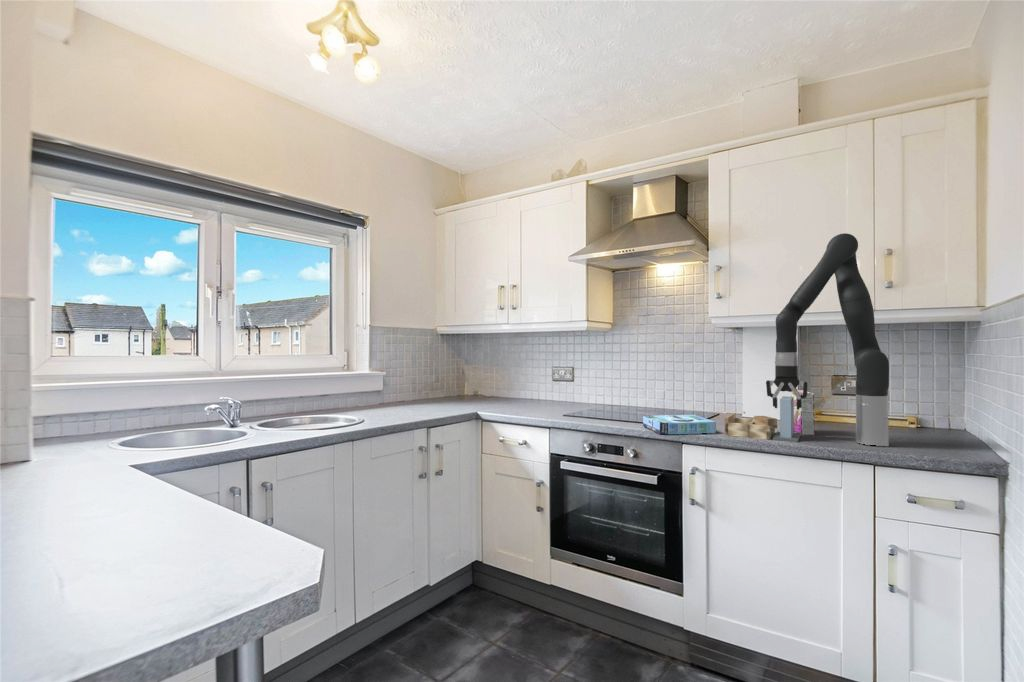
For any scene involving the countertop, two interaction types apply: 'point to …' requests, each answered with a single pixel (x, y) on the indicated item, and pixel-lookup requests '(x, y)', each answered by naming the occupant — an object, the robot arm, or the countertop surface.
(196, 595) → the countertop surface
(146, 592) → the countertop surface
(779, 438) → the mat
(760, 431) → the rack
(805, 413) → the candy bar box
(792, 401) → the tall pale blue pillar
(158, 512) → the countertop surface
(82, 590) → the countertop surface
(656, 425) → the gum box
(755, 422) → the offcut upper
